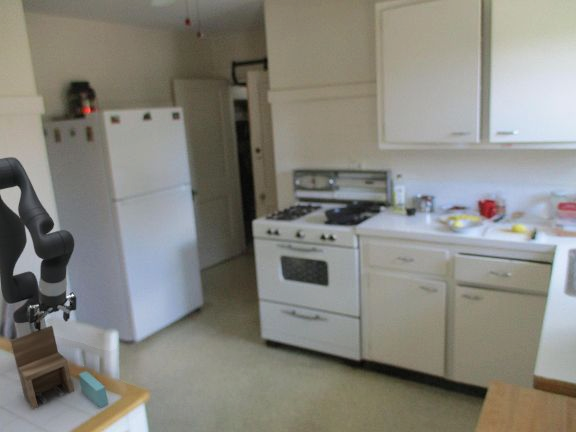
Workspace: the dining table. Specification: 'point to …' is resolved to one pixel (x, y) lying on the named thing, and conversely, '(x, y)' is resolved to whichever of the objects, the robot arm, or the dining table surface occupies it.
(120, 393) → the dining table surface
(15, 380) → the dining table surface
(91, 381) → the panel
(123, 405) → the dining table surface
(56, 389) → the walnut shelf
